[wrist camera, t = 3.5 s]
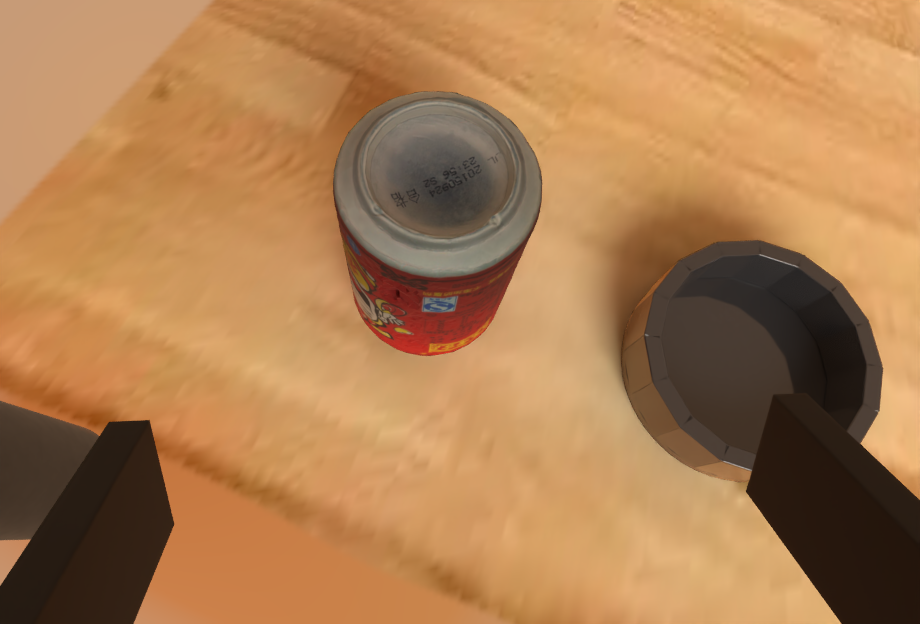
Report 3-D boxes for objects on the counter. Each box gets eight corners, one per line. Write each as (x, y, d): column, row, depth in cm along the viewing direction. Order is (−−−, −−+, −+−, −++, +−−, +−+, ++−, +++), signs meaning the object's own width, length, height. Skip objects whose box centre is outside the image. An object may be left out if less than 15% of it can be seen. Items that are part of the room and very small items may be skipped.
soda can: (327, 278, 32) (287, 135, 20) (443, 210, 34) (467, 43, 22) (406, 394, 30) (412, 311, 19) (523, 316, 32) (594, 196, 20)
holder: (700, 524, 29) (738, 523, 26) (580, 320, 32) (601, 297, 29) (876, 418, 32) (930, 405, 29) (750, 237, 35) (787, 207, 31)
